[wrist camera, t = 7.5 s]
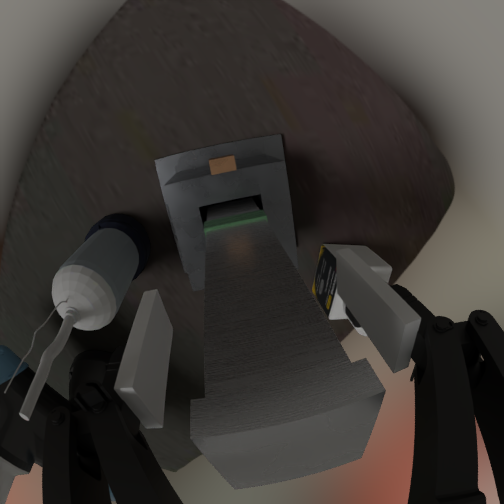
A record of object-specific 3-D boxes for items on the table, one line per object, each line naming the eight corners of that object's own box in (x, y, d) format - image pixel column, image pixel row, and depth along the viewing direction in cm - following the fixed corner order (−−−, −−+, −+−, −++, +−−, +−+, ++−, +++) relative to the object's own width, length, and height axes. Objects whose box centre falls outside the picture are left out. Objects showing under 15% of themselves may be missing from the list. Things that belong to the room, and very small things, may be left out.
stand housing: (185, 270, 34) (178, 314, 26) (155, 159, 29) (133, 169, 20) (294, 246, 35) (320, 283, 27) (279, 134, 29) (306, 134, 21)
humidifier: (109, 283, 34) (35, 448, 11) (80, 228, 30) (-46, 367, 8) (161, 262, 34) (112, 453, 11) (133, 202, 30) (5, 352, 7)
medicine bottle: (320, 242, 36) (364, 290, 25) (366, 245, 37) (417, 287, 26) (310, 290, 38) (344, 347, 27) (354, 289, 39) (395, 340, 29)
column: (214, 250, 26) (234, 489, 7) (203, 204, 24) (190, 438, 5) (262, 240, 27) (361, 458, 7) (254, 193, 25) (385, 390, 5)
